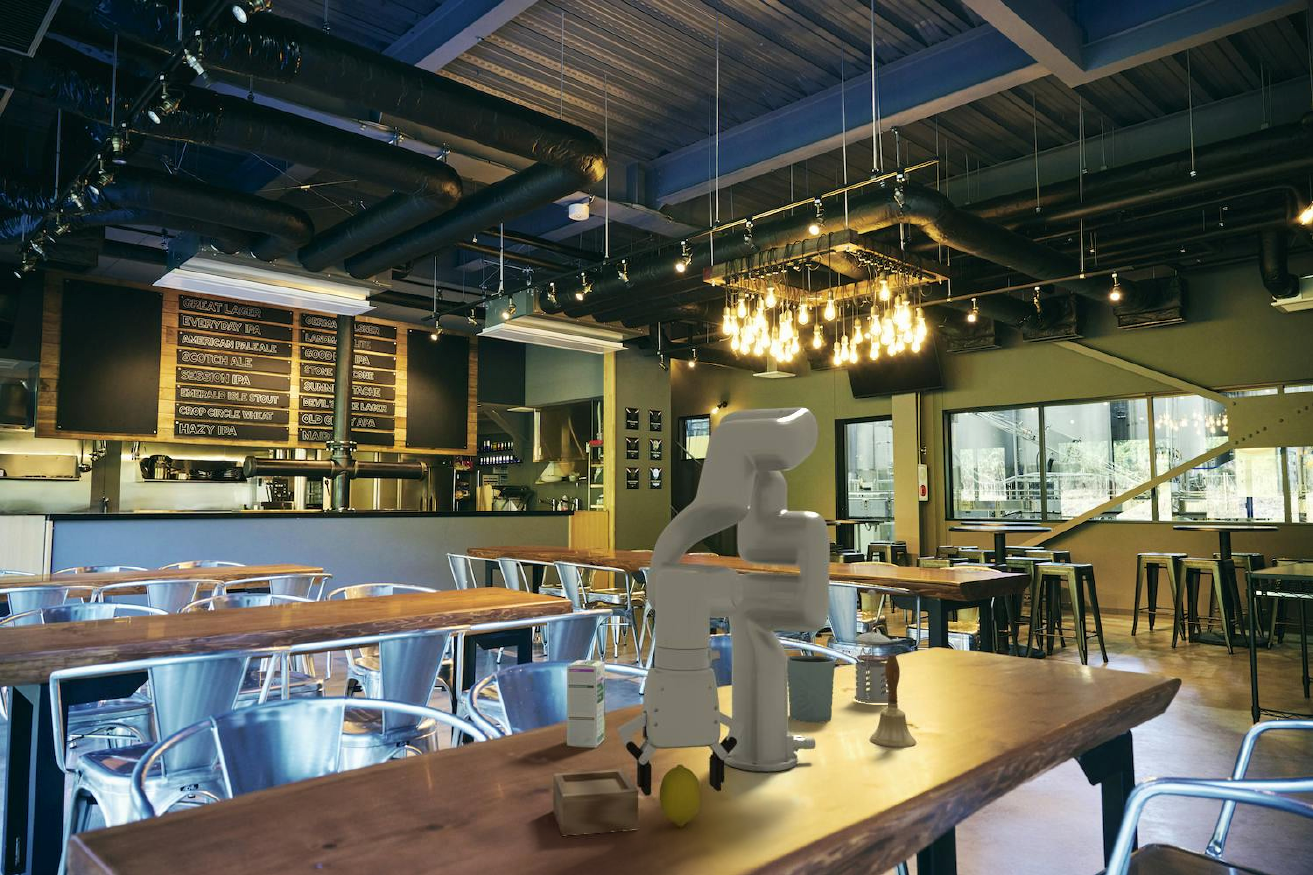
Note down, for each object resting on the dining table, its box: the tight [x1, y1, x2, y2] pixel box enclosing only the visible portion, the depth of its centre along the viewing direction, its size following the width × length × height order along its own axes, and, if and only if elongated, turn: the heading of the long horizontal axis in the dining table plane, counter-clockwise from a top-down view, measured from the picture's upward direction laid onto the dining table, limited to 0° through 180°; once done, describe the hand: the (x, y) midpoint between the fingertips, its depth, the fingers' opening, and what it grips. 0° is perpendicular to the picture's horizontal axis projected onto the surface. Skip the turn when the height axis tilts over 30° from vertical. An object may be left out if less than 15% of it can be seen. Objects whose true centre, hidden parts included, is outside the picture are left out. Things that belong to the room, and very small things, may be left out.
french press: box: [854, 589, 892, 703], centre depth 190 cm, size 10×12×25 cm
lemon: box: [659, 764, 702, 827], centre depth 112 cm, size 6×6×8 cm
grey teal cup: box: [787, 654, 836, 723], centre depth 174 cm, size 10×10×12 cm
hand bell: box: [869, 653, 917, 748], centre depth 156 cm, size 8×8×16 cm
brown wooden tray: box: [552, 768, 639, 836], centre depth 114 cm, size 10×10×5 cm
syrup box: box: [566, 659, 606, 749], centre depth 153 cm, size 6×6×14 cm
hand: (680, 790), depth 112 cm, fingers open, 9 cm apart
